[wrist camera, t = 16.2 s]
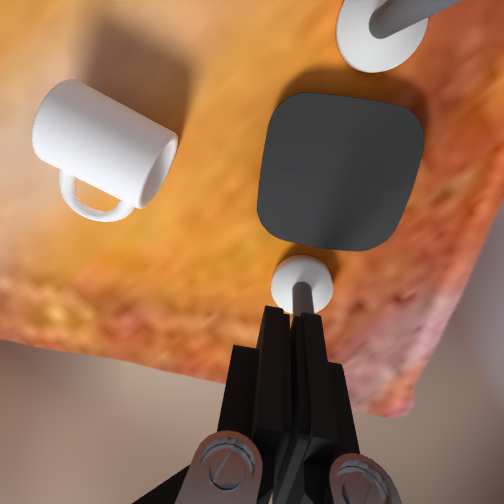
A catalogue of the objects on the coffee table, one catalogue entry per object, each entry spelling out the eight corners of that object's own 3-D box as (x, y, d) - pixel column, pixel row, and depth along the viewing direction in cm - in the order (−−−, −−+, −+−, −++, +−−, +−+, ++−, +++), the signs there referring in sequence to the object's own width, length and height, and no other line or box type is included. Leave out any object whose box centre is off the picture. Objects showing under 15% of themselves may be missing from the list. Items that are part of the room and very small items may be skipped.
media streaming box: (273, 86, 32) (272, 85, 30) (427, 108, 32) (440, 109, 29) (253, 227, 39) (251, 238, 36) (381, 247, 38) (389, 259, 36)
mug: (93, 79, 33) (41, 76, 26) (186, 129, 35) (159, 140, 27) (66, 185, 38) (15, 207, 31) (147, 225, 40) (116, 256, 33)
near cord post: (349, -32, 28) (461, -245, 10) (433, -16, 28) (700, -199, 10) (325, 64, 31) (379, 36, 13) (401, 79, 31) (560, 71, 13)
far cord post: (279, 249, 39) (271, 384, 21) (338, 261, 39) (381, 408, 21) (266, 298, 42) (250, 453, 24) (321, 310, 42) (346, 474, 24)
